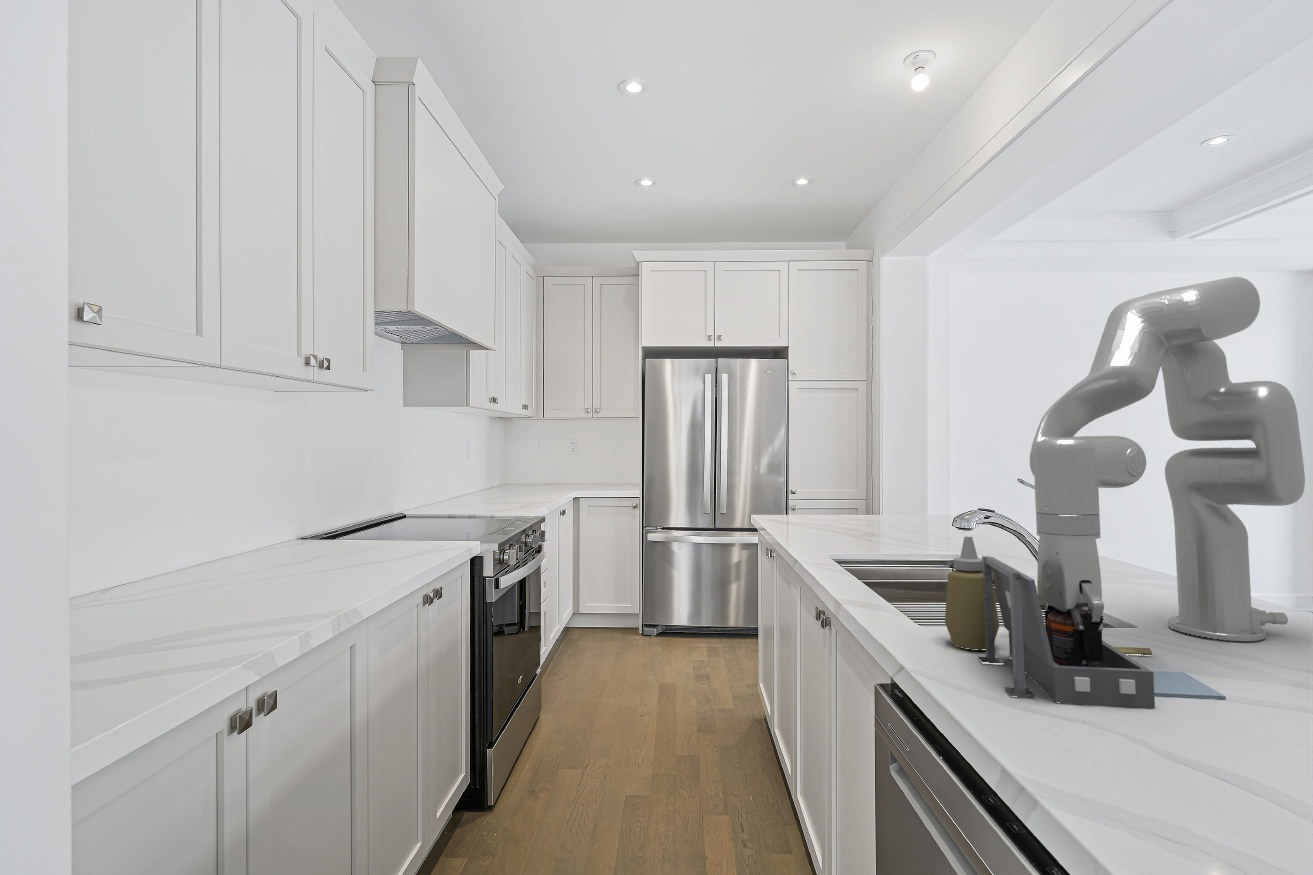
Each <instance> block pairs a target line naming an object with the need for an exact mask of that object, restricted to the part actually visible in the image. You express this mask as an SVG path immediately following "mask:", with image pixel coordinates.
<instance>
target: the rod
mask: <svg viewBox="0 0 1313 875" xmlns="http://www.w3.org/2000/svg"><path fill="white" fill-rule="evenodd" d="M1113 647H1114V648H1116V649H1117V650H1119V651H1121V652H1122V653H1124V654H1141V655H1142V654H1143V655H1152V656H1153V652H1152V649H1151V648H1149V647H1138V646H1136V647H1132V646H1131V647H1130V646H1113Z"/></svg>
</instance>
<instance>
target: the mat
mask: <svg viewBox="0 0 1313 875" xmlns="http://www.w3.org/2000/svg"><path fill="white" fill-rule="evenodd" d="M1152 671H1153V677H1154V697H1171V698H1172V697H1173V698H1186V699H1187V698H1191V699H1193V698H1194V699H1207V698H1213V700H1226V699H1227V698H1226V695H1224V694H1222V693H1220V692H1219V691H1217V690H1215V689H1214V688H1212V687H1210V686H1208V685H1206V684H1205V683H1203V682H1202V681H1199V680H1198V679H1196V678H1194V677H1193V676H1192V675H1189V674H1188V673H1186V672H1183V671H1167V670H1166V671H1164V670H1152Z"/></svg>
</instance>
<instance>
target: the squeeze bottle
mask: <svg viewBox="0 0 1313 875" xmlns="http://www.w3.org/2000/svg"><path fill="white" fill-rule="evenodd" d="M974 543H975V542H974V539H973V537H972V536H964V537H963V541H962V547H961V553H960V556H959V557H958V556H957V557H954V558H953V568H954V569H953V570H951V571H950V572H949V573H948V574H947V585H946V599H945V600H946V601H945V611H944V614H945V615H944V623H945V626H946V629H947V631H948V634H949V637H950V639H951V642H952V644H953V645H954V646H955V645H957V646H959V647H958V648H960V647H963V648H969V649H978V650H981V651H983V650H982V649H986V646H985V621H984V596H983V570H982V557H981V558H980V557H978V553H977V549H976V546H975V544H974ZM992 587H993V612H994V637H995V639H996V638H997V635H998V632H999V629H1000V623H999V616H998V615H999V613H998V609H997V608H998V607H997V601H996V596H995V595H996V594H995V586H994V580H992ZM957 646H956V647H957ZM963 648H962V649H963Z"/></svg>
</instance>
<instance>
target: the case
mask: <svg viewBox="0 0 1313 875" xmlns="http://www.w3.org/2000/svg"><path fill="white" fill-rule="evenodd" d="M1008 643H1009V644H1008V646H1009V658H1010V657H1011V658H1012V659H1013V650H1012V633H1010V632H1009V631H1008ZM1023 645H1024V644H1023ZM1114 647H1115V646H1112V645H1111V644H1109V643H1108V642H1106V641H1105V640H1103V639H1102V650H1103V660H1102V661H1099V667H1077V666H1059V665H1057V664H1056V663H1055V662H1054V661H1053V662H1054V665H1051V666H1049V665H1048V664H1047V663H1045V662H1044V661H1043V660H1042V659H1041V658H1040V657H1038V656H1037V655H1036V654H1035V653H1034V652H1033V651H1031V650H1030V649H1029V648H1028V647H1027V646H1026V645H1024V669H1025V672H1026V673H1027V674H1028V675H1029V676H1030V677H1031V678H1032V679H1033V680H1034V681H1035V682H1036V683H1037V684H1038V685H1039V686H1040V687H1041V688H1042V689H1043V690H1044V691H1045V692H1046V693H1047V694H1048V695H1049V696H1050V697H1051V698H1052V699H1053V700H1054V701H1055V702H1060V703H1059V704H1063V703H1070V705H1081V704H1086V705H1085V706H1099V707H1100V706H1103V707H1118V706H1119V708H1120V706H1121V707H1122V708H1123V707H1124V708H1136V709H1137V708H1139V709H1156V703H1155V702H1156V701H1155V699H1156V698H1155V696H1154V677H1153V671H1154V670H1151V669H1150V668H1148V667H1146V666H1145V665H1143V664H1141V663H1140V662H1138V661H1136V660H1135V659H1134V658H1132V657H1131V656H1127V655H1125V654H1124V653H1122V652H1121V651H1119V650H1117V649H1116V648H1114ZM1026 673H1025V674H1026ZM1027 674H1026V675H1027ZM1028 675H1027V676H1028ZM1029 676H1028V677H1029ZM1030 677H1029V678H1030ZM1031 678H1030V679H1031ZM1032 679H1031V680H1032ZM1033 680H1032V681H1033ZM1034 681H1033V682H1034ZM1035 682H1034V683H1035ZM1036 683H1035V684H1036ZM1037 684H1036V685H1037ZM1038 685H1037V686H1038ZM1039 686H1038V687H1039ZM1040 687H1039V688H1040ZM1041 688H1040V689H1041ZM1042 689H1041V690H1042ZM1043 690H1042V691H1043ZM1044 691H1043V692H1044ZM1045 692H1044V693H1045ZM1046 693H1045V694H1046ZM1047 694H1046V695H1047ZM1048 695H1047V696H1048ZM1049 696H1048V697H1049ZM1050 697H1049V698H1050ZM1051 698H1050V699H1051ZM1052 699H1051V700H1052ZM1053 700H1052V701H1053ZM1054 701H1053V702H1054ZM1055 702H1054V703H1055ZM1071 703H1072V704H1071ZM1087 704H1088V705H1087Z"/></svg>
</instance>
